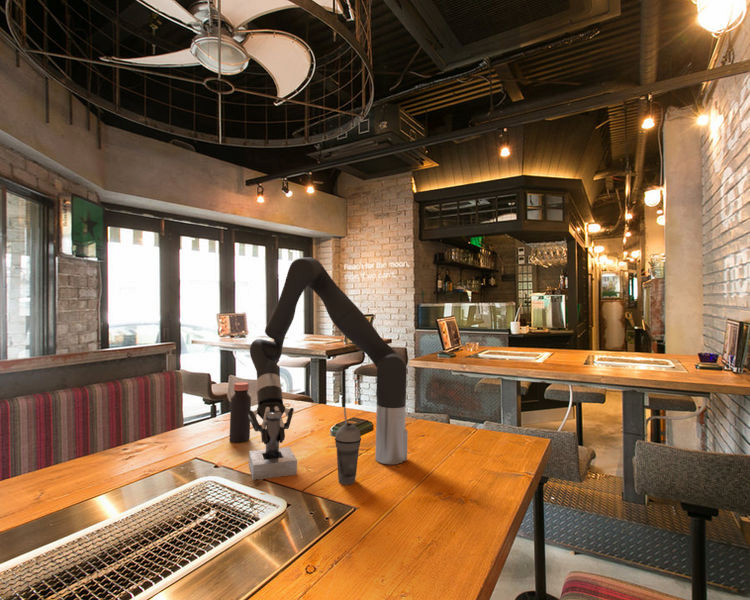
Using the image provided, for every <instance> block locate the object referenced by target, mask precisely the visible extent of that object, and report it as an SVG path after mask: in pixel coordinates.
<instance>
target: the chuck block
mask: <svg viewBox="0 0 750 600" xmlns="http://www.w3.org/2000/svg"><path fill="white" fill-rule="evenodd" d="M265 454H266V448H264V449H254V450H249V452H248V466H249V470H250V471H249V472H250V475H251V479H252V481H256V479H258V480H264V479H265V480H266V479H271V478H280V477H288V476H295V475H298V473H297V472H298V459H297V457H296V456H295V454H294V452H293V451H292V448H291V447H290V446H282V447H279V458H275V459H266V460H265Z"/></svg>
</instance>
